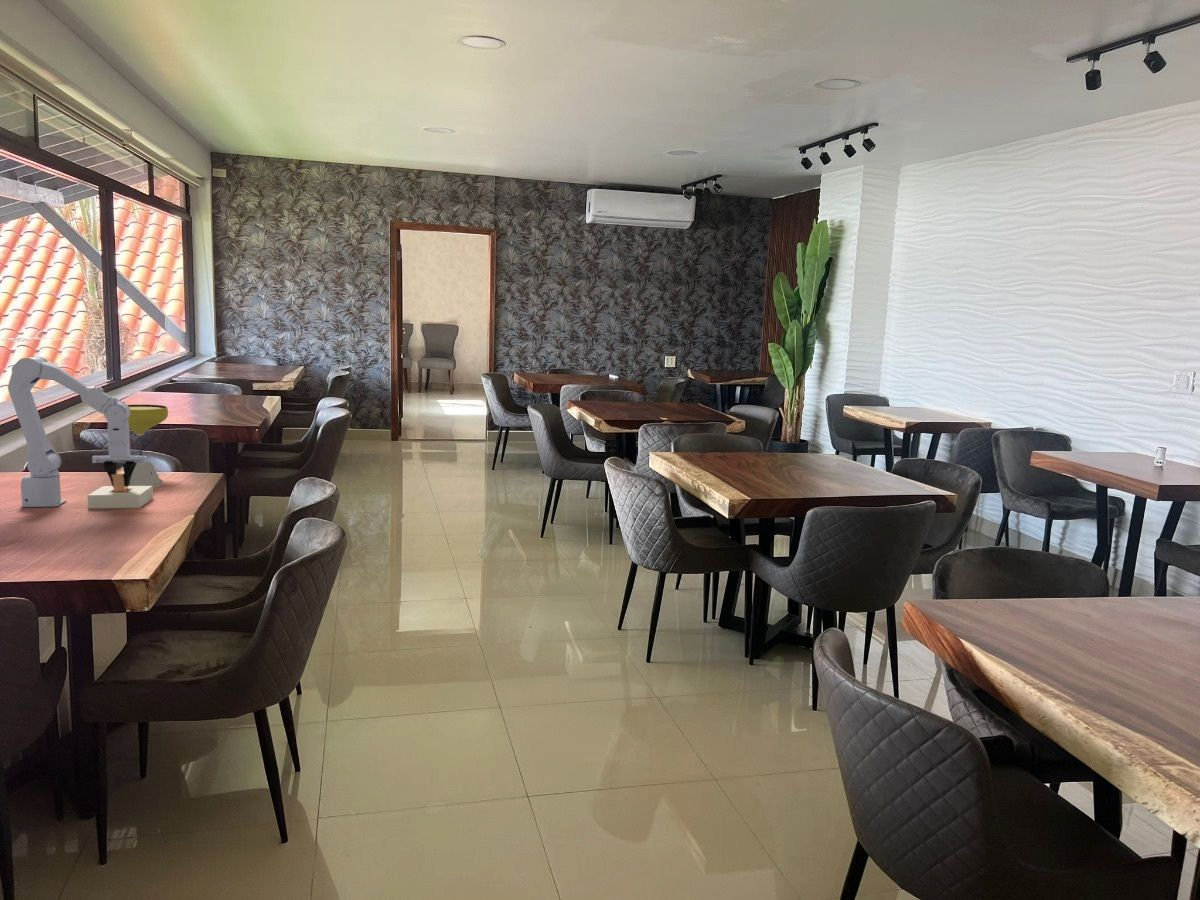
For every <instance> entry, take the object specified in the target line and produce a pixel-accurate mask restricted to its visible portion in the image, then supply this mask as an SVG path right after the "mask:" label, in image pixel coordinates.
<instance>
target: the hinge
mask: <svg viewBox="0 0 1200 900" xmlns="http://www.w3.org/2000/svg"><path fill="white" fill-rule="evenodd" d="M117 471H124V468H123V465H122V466H120V467H119V468H118V469H117V470H116V472H117ZM158 475H159V474H158V473H157V471H156V469H155V467H154V464H153V463H152V462H148V461H147V462H146V463H137V464H136V466H135V468H134V470H133V473H132V476H131V479H130V485H129V486H153V489H155V487H156V488H158V486H160V487H162V486H161V485H163V486H165V483H164V481H163V479H161V478H160V477H158Z"/></svg>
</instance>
